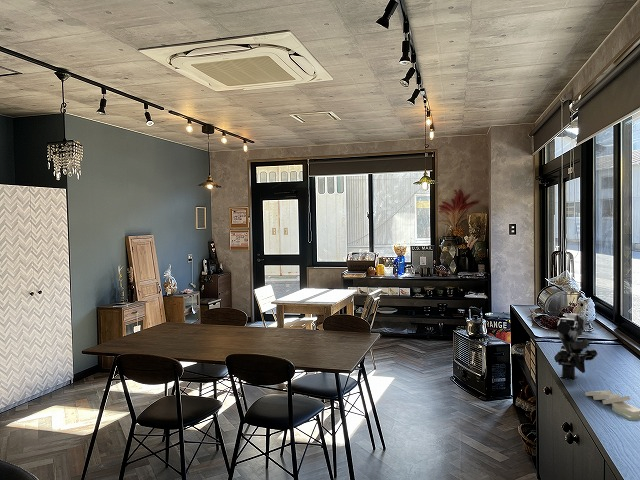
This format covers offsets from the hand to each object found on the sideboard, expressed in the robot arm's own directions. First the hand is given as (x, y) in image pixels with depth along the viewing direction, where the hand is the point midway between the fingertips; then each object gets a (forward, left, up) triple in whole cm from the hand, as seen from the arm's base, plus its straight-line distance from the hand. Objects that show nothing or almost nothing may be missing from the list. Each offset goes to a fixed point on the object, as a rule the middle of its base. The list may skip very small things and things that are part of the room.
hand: (583, 372), depth 227 cm
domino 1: (+5, +4, -7) cm, 10 cm away
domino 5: (+16, +18, -8) cm, 25 cm away
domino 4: (+15, +17, -6) cm, 23 cm away
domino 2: (+8, +8, -7) cm, 14 cm away
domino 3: (+11, +13, -7) cm, 19 cm away
